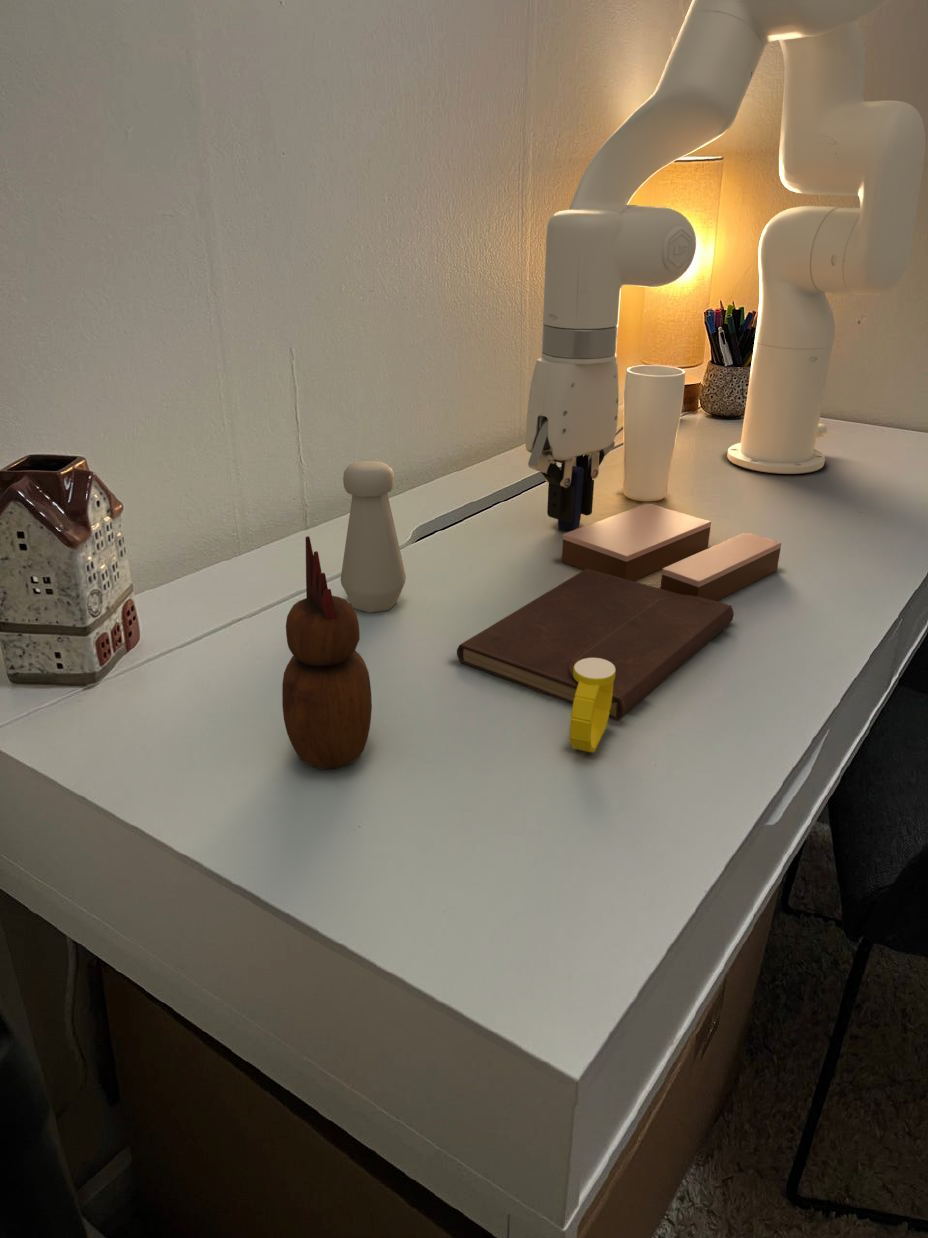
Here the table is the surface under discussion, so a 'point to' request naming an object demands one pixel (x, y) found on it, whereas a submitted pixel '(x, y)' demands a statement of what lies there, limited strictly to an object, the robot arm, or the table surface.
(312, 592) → the wooden figurine
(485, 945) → the table surface
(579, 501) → the eraser
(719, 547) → the brown long rectangular block
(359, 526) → the salt shaker
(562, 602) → the notebook
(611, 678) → the watch
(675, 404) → the drinking glass
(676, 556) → the brown and tan block
